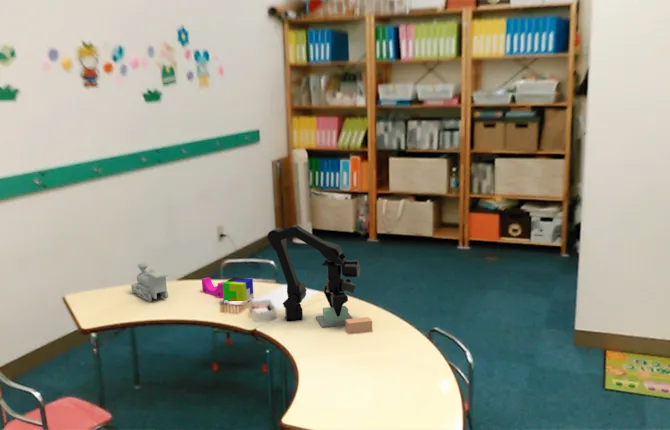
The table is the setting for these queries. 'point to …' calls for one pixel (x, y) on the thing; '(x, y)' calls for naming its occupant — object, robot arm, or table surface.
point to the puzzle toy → (238, 289)
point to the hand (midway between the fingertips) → (335, 312)
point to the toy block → (212, 288)
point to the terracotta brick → (358, 325)
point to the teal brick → (334, 314)
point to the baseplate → (331, 324)
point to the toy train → (150, 283)
